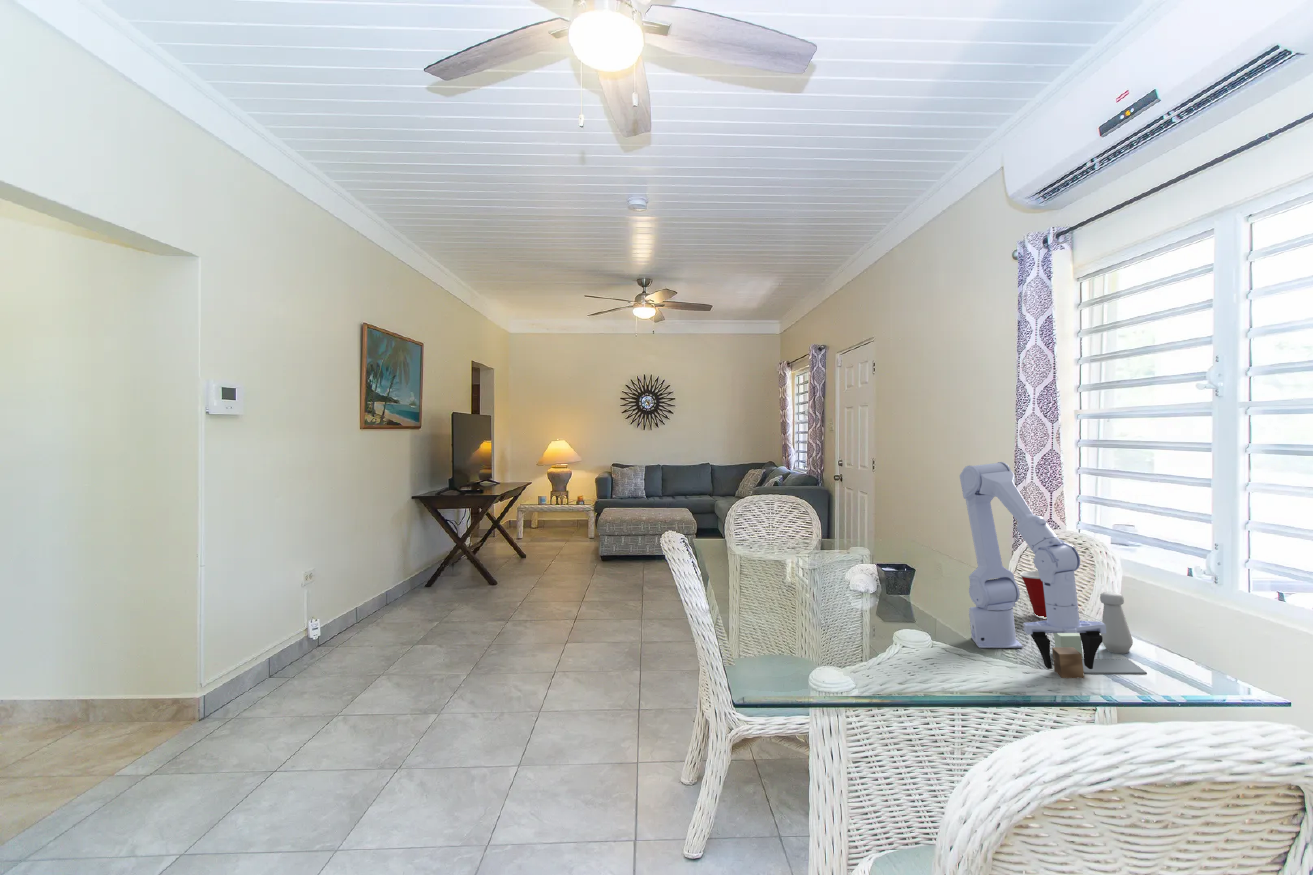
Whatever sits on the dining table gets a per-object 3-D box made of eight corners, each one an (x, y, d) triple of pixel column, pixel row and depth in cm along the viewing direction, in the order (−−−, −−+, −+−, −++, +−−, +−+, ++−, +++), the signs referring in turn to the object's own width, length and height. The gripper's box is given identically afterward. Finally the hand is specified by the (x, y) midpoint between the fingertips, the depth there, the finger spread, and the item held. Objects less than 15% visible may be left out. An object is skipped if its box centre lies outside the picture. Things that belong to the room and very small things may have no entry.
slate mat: (1084, 673, 123) (1084, 672, 123) (1070, 660, 130) (1069, 658, 130) (1146, 673, 120) (1146, 672, 120) (1128, 659, 128) (1127, 658, 128)
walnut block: (1062, 678, 122) (1059, 654, 122) (1054, 670, 126) (1051, 647, 126) (1084, 678, 121) (1081, 654, 121) (1075, 670, 125) (1073, 647, 125)
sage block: (1062, 658, 132) (1060, 636, 132) (1055, 651, 136) (1053, 630, 136) (1083, 658, 131) (1080, 635, 131) (1075, 651, 135) (1073, 629, 135)
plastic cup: (1058, 609, 164) (1053, 566, 164) (1080, 621, 153) (1075, 575, 153) (1016, 611, 165) (1011, 569, 165) (1035, 623, 154) (1030, 578, 155)
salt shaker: (1139, 654, 130) (1133, 595, 130) (1110, 655, 131) (1104, 597, 131) (1124, 645, 135) (1118, 588, 135) (1096, 646, 136) (1090, 590, 137)
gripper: (1029, 608, 122) (1036, 674, 122) (1110, 607, 118) (1117, 674, 118) (1017, 599, 129) (1024, 661, 129) (1094, 597, 125) (1101, 661, 125)
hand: (1068, 667), depth 124 cm, fingers open, 7 cm apart
